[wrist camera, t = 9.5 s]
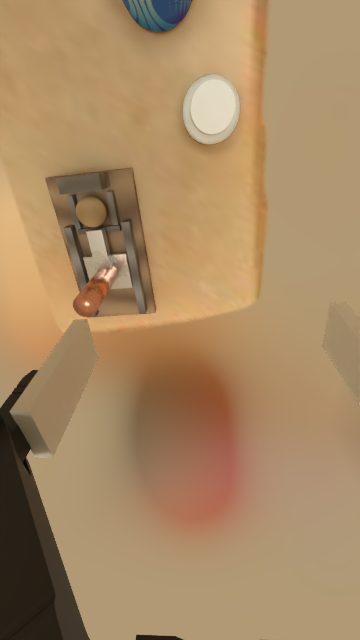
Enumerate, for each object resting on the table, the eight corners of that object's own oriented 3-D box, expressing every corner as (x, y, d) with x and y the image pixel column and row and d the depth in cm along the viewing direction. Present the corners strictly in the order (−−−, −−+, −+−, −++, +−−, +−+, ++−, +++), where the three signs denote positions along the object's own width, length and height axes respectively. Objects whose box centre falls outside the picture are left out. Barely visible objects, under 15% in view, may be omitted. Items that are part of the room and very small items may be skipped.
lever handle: (77, 228, 47) (40, 254, 36) (121, 223, 46) (97, 249, 35) (94, 287, 52) (65, 327, 41) (133, 284, 52) (116, 324, 40)
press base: (48, 177, 45) (30, 181, 40) (132, 167, 43) (124, 170, 39) (89, 314, 57) (79, 330, 52) (155, 309, 56) (151, 325, 51)
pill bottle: (181, 141, 41) (176, 140, 31) (188, 83, 38) (185, 61, 28) (227, 147, 42) (236, 149, 32) (237, 90, 38) (251, 71, 28)
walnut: (78, 195, 45) (67, 200, 41) (106, 192, 44) (97, 196, 40) (85, 225, 47) (76, 232, 43) (112, 222, 46) (105, 229, 43)
